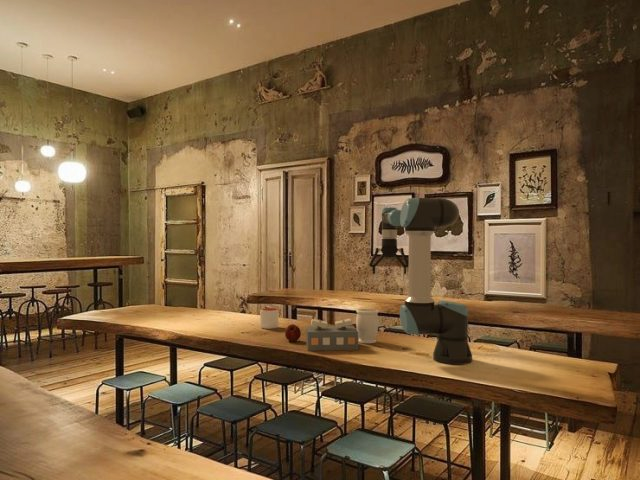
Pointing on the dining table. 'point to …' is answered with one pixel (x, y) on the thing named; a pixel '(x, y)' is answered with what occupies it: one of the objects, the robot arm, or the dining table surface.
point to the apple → (292, 333)
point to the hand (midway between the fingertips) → (389, 280)
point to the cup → (269, 318)
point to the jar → (367, 325)
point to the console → (331, 338)
